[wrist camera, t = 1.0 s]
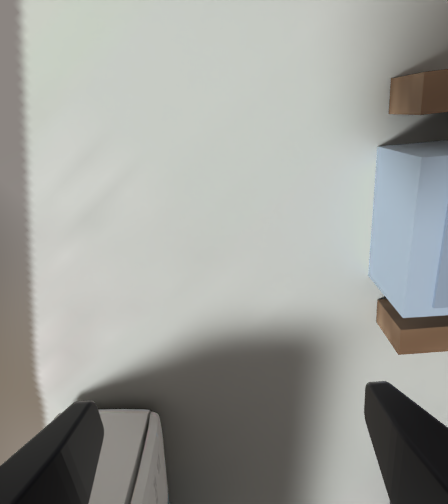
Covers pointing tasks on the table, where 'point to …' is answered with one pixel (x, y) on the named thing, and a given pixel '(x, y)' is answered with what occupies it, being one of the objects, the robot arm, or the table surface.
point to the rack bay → (390, 321)
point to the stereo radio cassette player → (130, 459)
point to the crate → (411, 228)
